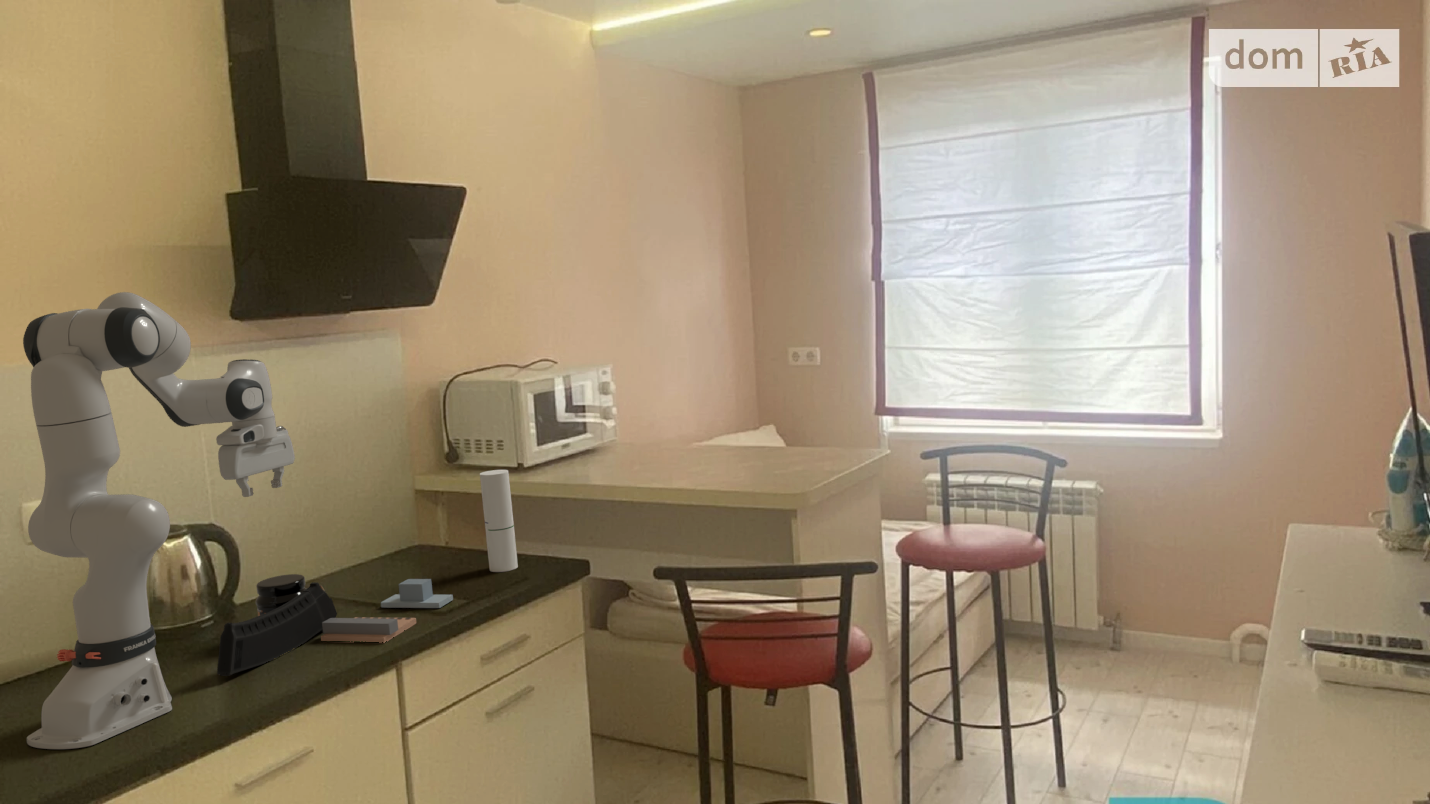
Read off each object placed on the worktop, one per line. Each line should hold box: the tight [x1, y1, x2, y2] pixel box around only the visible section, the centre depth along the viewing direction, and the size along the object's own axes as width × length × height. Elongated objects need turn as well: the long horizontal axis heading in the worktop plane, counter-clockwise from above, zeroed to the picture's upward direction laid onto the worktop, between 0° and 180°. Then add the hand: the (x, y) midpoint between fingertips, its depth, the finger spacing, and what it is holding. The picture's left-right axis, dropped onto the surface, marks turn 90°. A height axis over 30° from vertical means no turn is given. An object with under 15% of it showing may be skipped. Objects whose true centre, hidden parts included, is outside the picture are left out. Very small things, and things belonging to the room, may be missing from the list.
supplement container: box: [255, 573, 307, 616], centre depth 212 cm, size 10×10×12 cm
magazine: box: [216, 582, 338, 677], centre depth 200 cm, size 17×3×30 cm
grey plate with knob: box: [380, 578, 454, 609], centre depth 227 cm, size 6×15×5 cm, turn 75°
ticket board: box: [320, 616, 417, 644], centre depth 209 cm, size 12×16×4 cm
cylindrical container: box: [479, 469, 519, 573], centre depth 252 cm, size 7×7×25 cm
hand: (262, 491), depth 223 cm, fingers open, 8 cm apart
